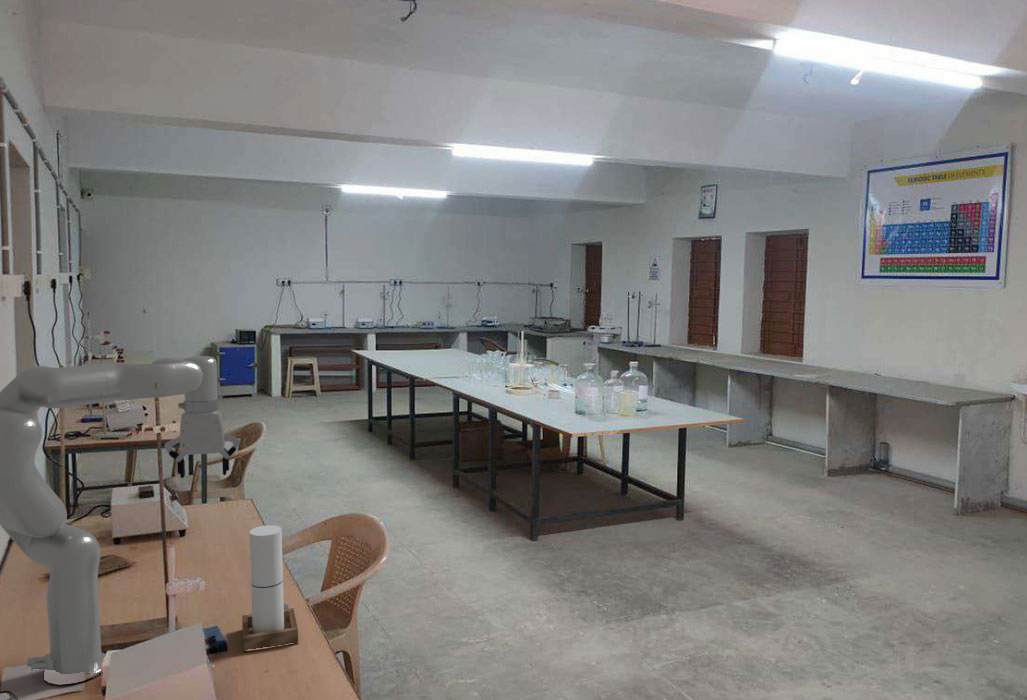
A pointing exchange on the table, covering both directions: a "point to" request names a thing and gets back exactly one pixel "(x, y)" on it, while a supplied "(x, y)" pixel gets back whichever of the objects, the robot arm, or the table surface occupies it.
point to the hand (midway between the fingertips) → (203, 475)
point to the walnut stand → (270, 632)
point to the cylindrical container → (266, 578)
